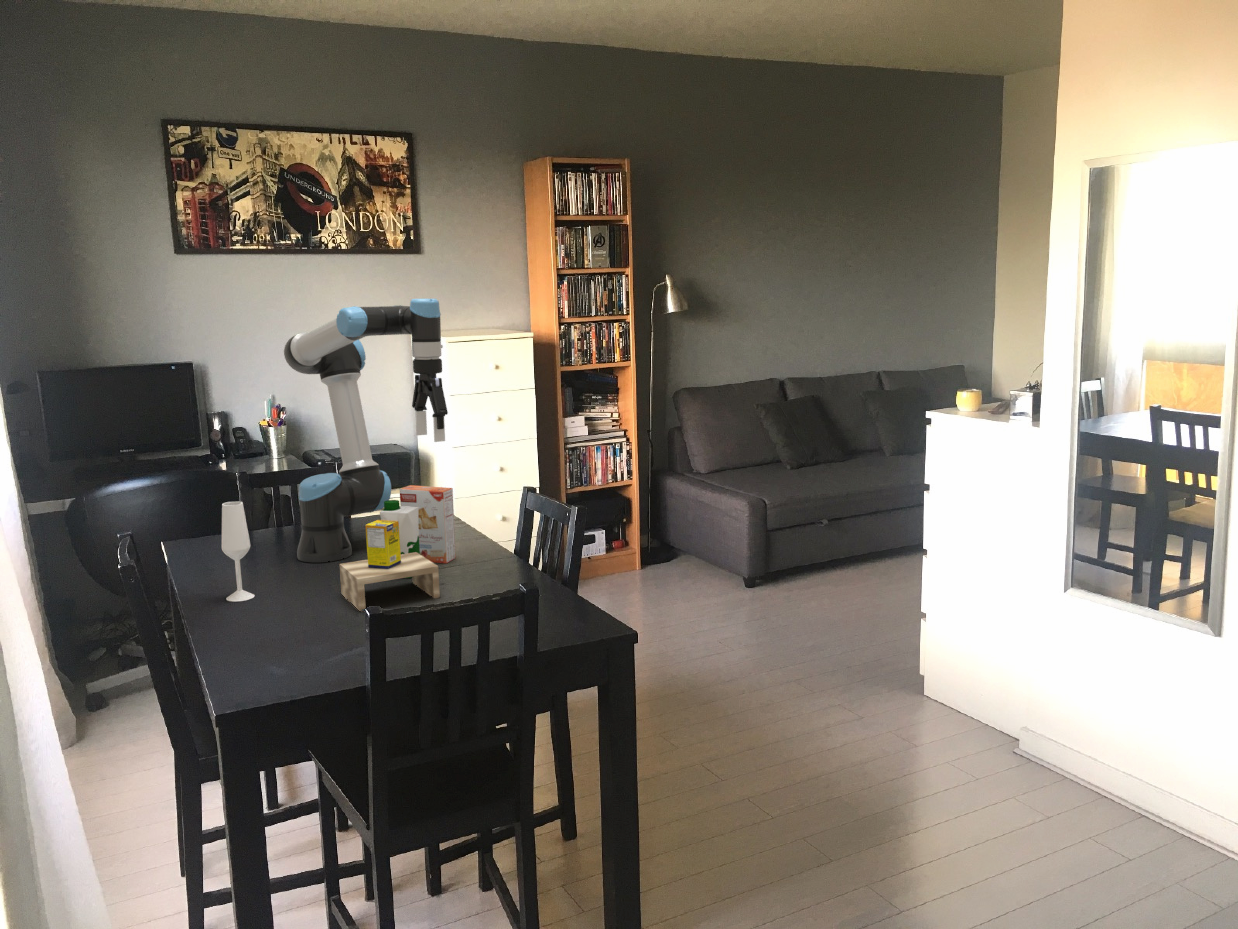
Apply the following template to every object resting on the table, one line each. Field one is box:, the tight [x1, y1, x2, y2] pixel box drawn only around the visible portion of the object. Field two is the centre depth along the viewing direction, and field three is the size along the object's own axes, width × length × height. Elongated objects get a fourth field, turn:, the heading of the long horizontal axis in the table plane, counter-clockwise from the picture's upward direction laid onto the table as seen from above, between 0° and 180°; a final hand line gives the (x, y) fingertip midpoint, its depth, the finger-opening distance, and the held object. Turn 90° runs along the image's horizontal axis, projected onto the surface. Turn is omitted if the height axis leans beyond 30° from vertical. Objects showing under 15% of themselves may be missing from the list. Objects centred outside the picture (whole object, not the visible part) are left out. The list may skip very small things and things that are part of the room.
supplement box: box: [364, 519, 401, 569], centre depth 239 cm, size 6×6×11 cm
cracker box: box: [399, 484, 457, 565], centre depth 273 cm, size 14×6×21 cm, turn 71°
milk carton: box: [379, 499, 420, 579], centre depth 259 cm, size 9×9×20 cm
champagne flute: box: [221, 501, 255, 602], centre depth 240 cm, size 7×7×24 cm
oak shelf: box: [338, 552, 440, 612], centre depth 241 cm, size 16×20×8 cm
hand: (430, 438), depth 258 cm, fingers open, 13 cm apart
